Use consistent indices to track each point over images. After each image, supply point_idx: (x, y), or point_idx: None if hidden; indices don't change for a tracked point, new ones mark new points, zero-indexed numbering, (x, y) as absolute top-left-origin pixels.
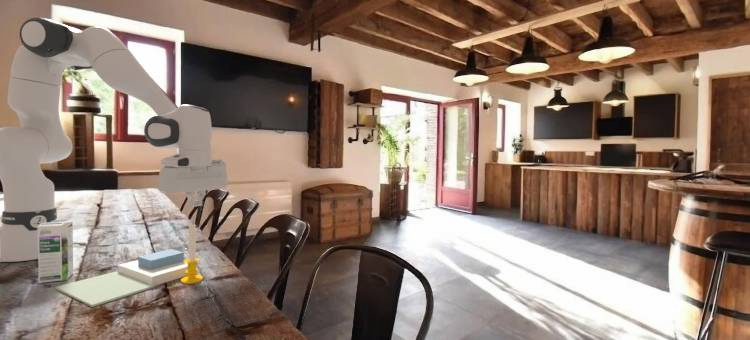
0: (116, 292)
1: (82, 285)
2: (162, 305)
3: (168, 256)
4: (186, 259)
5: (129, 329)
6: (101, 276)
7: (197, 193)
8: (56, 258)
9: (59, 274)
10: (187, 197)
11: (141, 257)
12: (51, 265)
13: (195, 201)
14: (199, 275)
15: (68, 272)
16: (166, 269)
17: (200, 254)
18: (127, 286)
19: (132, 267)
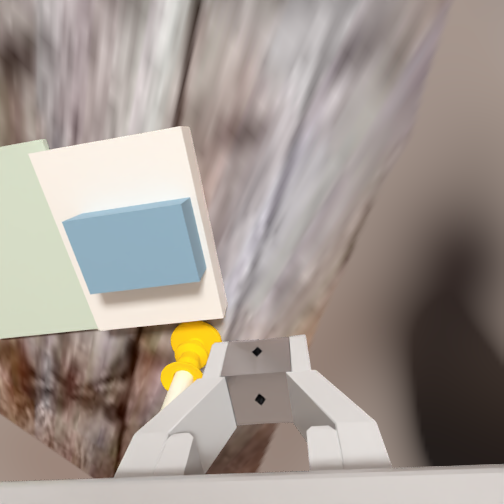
0: (39, 309)
1: None
2: (109, 408)
3: (145, 287)
4: (173, 364)
5: (55, 442)
6: (4, 161)
7: (308, 432)
8: None
9: None
10: (166, 410)
11: (70, 238)
12: None
13: (239, 418)
14: (216, 341)
15: None
16: (142, 304)
17: (335, 128)
18: (61, 291)
19: (65, 218)
